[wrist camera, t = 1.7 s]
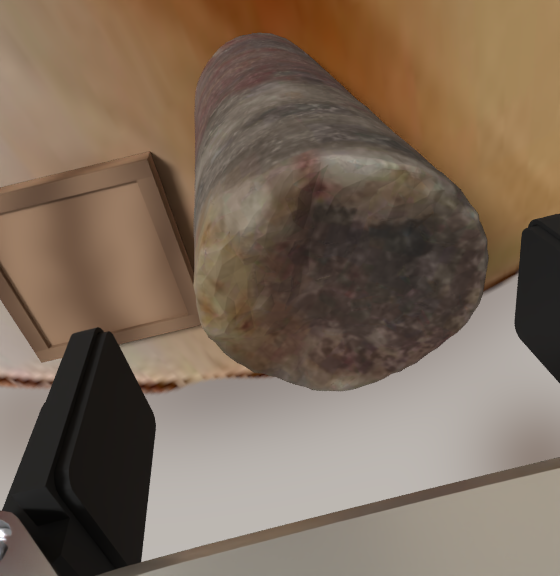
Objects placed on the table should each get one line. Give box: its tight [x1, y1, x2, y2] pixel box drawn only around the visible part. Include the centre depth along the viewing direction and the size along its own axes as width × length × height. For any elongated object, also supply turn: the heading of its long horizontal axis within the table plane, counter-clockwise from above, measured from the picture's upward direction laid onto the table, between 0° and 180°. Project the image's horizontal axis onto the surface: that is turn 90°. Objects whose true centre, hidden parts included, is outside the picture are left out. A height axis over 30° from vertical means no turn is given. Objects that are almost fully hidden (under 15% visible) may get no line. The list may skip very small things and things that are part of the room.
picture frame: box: [0, 152, 201, 363], centre depth 31 cm, size 12×12×2 cm
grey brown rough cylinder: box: [193, 33, 489, 391], centre depth 20 cm, size 8×7×20 cm
